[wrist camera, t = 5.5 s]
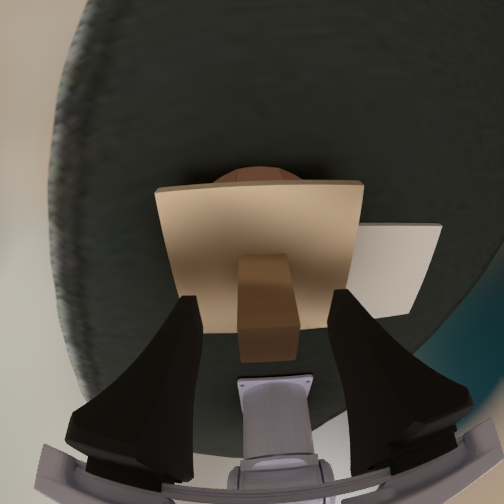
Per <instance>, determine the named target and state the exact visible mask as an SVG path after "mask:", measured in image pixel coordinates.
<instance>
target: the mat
mask: <svg viewBox="0 0 504 504" xmlns="http://www.w3.org/2000/svg"><path fill="white" fill-rule="evenodd" d="M441 228H442V225H441V224H440V223H359V225H358V230H357V236H356V242H355V247H354V252H353V257H352V262H351V267H350V271H349V276H348V281H347V285H346V289H348V290H349V291H350V292H351V293H352V294H353V295H354V297H355V298H356V299H357V300H358V301H359V302H360V303H361V305H362V306H363V307H364V308H365V309H366V310H367V311H368V312H369V314H370V315H371V316H372V317H373V318H381V317H388V316H395V315H402V314H408V313H409V312H410V309H411V307H412V305H413V303H414V301H415V298H416V296H417V294H418V291H419V289H420V287H421V284H422V282H423V279H424V277H425V274H426V272H427V269H428V267H429V264H430V261H431V258H432V256H433V253H434V250H435V247H436V244H437V241H438V238H439V235H440V232H441Z"/></svg>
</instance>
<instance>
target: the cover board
mask: <svg viewBox="0 0 504 504" xmlns="http://www.w3.org/2000/svg"><path fill="white" fill-rule="evenodd" d="M363 191H364V185H363V184H362V183H361V182H360V181H352V180H267V181H242V182H223V183H208V184H195V185H184V186H173V187H163V188H158V189H157V190H156V192H155V198H156V203H157V208H158V213H159V218H160V222H161V227H162V231H163V236H164V240H165V245H166V249H167V253H168V257H169V261H170V265H171V269H172V273H173V277H174V280H175V284H176V288H177V291H178V295H179V298H180V297H181V296H182V295H196V297H197V302H198V306H199V311H200V315H201V319H202V323H203V333H237V334H238V342H239V350H240V358H241V363H251V362H273V361H288V360H296V354H297V348H298V341H299V334H300V329H313V328H323V327H327V319H328V315H329V310H330V306H331V301H332V297H333V292H334V290H336V289H346V285H347V281H348V276H349V271H350V267H351V262H352V257H353V252H354V247H355V242H356V236H357V230H358V225H359V219H360V212H361V206H362V199H363Z"/></svg>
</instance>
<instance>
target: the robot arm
mask: <svg viewBox="0 0 504 504" xmlns="http://www.w3.org/2000/svg"><path fill="white" fill-rule="evenodd" d="M327 327H328V333H329V338H330V343H331V347H332V350H333V354H334V357H335V361H336V364H337V367H338V371H339V374H340V378H341V381H342V385H343V389H344V394H345V400H346V407H347V414H348V422H349V435H350V455H351V469H350V470H351V476H352V477H351V478H346V479H341V480H336V481H334V475H333V471H332V468H331V465H330V464H329V463H328V462H326V461H325V460H324V459H320V460H318V454H314V447H313V440H312V432H311V425H310V418H309V411H308V404H307V396H308V393H309V390H310V387H311V384H312V381H313V375H311V374H308V375H297V376H284V377H267V378H241V379H238V381H237V384H238V390H239V396H240V402H241V408H242V412H243V455H244V460H241V461H240V466H236V467H234V469H233V470H232V471H231V472H230V473H229V476H228V482H227V489H210V488H197V487H188V486H180V485H174V482H175V483H182V482H189V481H190V480H192V478H194V471H193V404H194V394H195V387H196V381H197V376H198V370H199V364H200V359H201V353H202V344H203V323H202V319H201V315H200V311H199V306H198V302H197V297H196V295H182V296H181V297H180V298H179V300H178V302H177V303H176V305H175V306H174V308H173V310H172V311H171V313H170V314H169V316H168V317H167V319H166V320H165V322H164V323H163V325H162V326H161V328H160V329H159V331H158V332H157V333H156V335H155V336H154V337H153V339H152V340H151V341H150V343H149V344H148V345H147V347H146V348H145V349H144V350H143V352H142V353H141V354H140V355H139V356H138V358H137V359H136V360H135V361H134V362H133V363H132V364H131V365H130V366H129V367H128V368H127V369H126V370H125V371H124V372H123V373H122V374H121V375H120V376H119V377H118V378H117V379H116V380H115V381H114V382H113V383H112V384H111V385H109V386H108V387H107V388H106V389H105V390H103V391H102V392H101V393H100V394H99V395H97V396H96V397H95V398H93V399H92V400H91V401H89V402H88V403H86V404H85V405H83V406H82V407H80V408H79V409H77V410H76V411H74V412H73V413H72V416H71V418H70V422H69V425H68V429H67V433H66V437H65V441H66V443H67V444H68V445H70V446H71V447H73V448H75V449H76V450H78V451H80V452H81V453H83V454H85V455H87V456H88V459H87V463H85V462H82V461H80V460H77V459H75V458H74V457H72V456H70V455H68V454H66V453H64V452H62V451H59V450H57V449H55V448H53V447H51V446H49V445H46V444H44V445H43V448H42V452H41V456H40V460H39V465H38V469H37V474H36V480H35V485H34V489H35V490H37V491H38V492H40V493H41V494H43V495H45V496H46V497H48V498H50V499H52V500H53V501H55V502H57V503H59V504H175V502H174V501H173V500H172V499H175V500H182V501H191V502H200V503H213V504H334V503H335V496H336V495H340V494H345V493H349V492H354V491H357V490H361V489H365V488H369V487H372V486H376V485H379V484H380V486H379V487H378V489H377V490H376V491H374V492H370V493H367V494H363V495H359V496H356V497H351V498H347V499H343V500H342V501H341V504H444V503H445V502H447V501H449V500H450V499H452V498H453V497H454V496H456V495H457V494H459V493H460V492H462V491H463V490H464V489H466V488H467V487H469V486H470V485H471V484H473V483H474V482H475V481H476V480H478V479H479V478H481V477H482V476H483V475H485V474H486V473H487V472H488V471H490V470H491V469H492V468H494V467H495V466H496V465H498V464H499V463H500V462H501V461H503V460H504V454H503V451H502V447H501V444H500V441H499V438H498V435H497V432H496V429H495V426H494V423H493V420H492V418H489V419H487V420H485V421H484V422H482V423H480V424H479V425H477V426H476V427H474V428H472V429H471V430H469V431H468V432H466V433H465V434H464V435H463V436H461V437H459V438H457V439H455V436H454V432H456V431H457V428H456V425H455V424H456V423H457V422H458V421H460V420H461V419H462V418H463V417H465V416H466V415H467V414H468V413H469V412H471V411H472V409H473V407H474V403H473V400H472V398H471V395H470V393H469V391H468V389H467V388H466V387H464V386H462V385H460V384H458V383H456V382H454V381H452V380H450V379H448V378H446V377H445V376H443V375H441V374H440V373H437V372H436V371H435V370H433V369H432V368H430V367H428V366H427V365H425V364H424V363H423V362H421V361H420V360H419V359H417V358H416V357H415V356H413V355H412V354H411V353H410V352H408V351H407V350H406V349H405V348H404V347H402V346H401V345H400V344H399V343H398V342H397V341H396V340H395V339H394V338H393V337H391V336H390V335H389V334H388V333H387V332H386V331H385V330H384V329H383V328H382V327H381V326H380V324H379V323H378V322H377V321H376V320H375V319H374V318H373V317H372V316H371V315H370V314H369V312H368V311H367V310H366V309H365V308H364V307H363V306H362V305H361V303H360V302H359V301H358V300H357V299H356V298H355V297H354V295H353V294H352V293H351V292H350V291H349V290H348V289H336V290H334V292H333V297H332V301H331V306H330V310H329V315H328V319H327Z"/></svg>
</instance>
